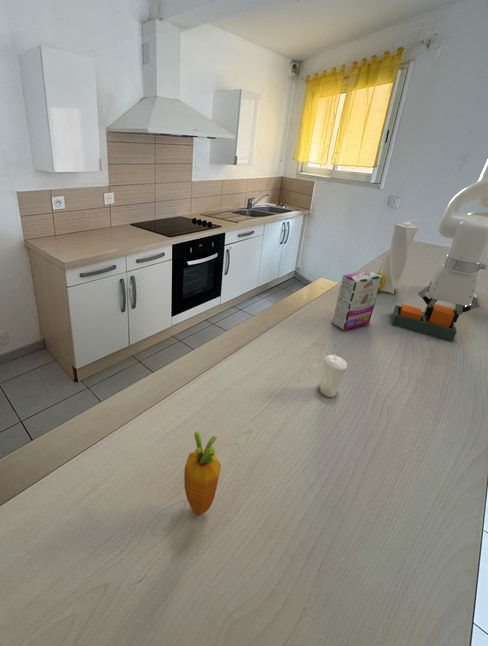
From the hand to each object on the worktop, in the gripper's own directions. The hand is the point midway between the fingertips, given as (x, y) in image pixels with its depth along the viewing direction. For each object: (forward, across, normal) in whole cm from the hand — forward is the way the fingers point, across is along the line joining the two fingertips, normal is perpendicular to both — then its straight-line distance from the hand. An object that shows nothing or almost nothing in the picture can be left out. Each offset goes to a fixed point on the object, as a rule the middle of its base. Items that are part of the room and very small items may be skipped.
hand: (438, 320), depth 97 cm
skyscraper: (+4, +14, -25) cm, 29 cm away
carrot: (+4, +36, +84) cm, 91 cm away
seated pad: (+3, +7, 0) cm, 8 cm away
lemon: (+4, +18, -20) cm, 27 cm away
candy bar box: (+4, +23, +11) cm, 25 cm away
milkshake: (+4, +24, +46) cm, 52 cm away
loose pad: (+1, 0, 0) cm, 1 cm away
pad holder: (+4, +4, 0) cm, 5 cm away
